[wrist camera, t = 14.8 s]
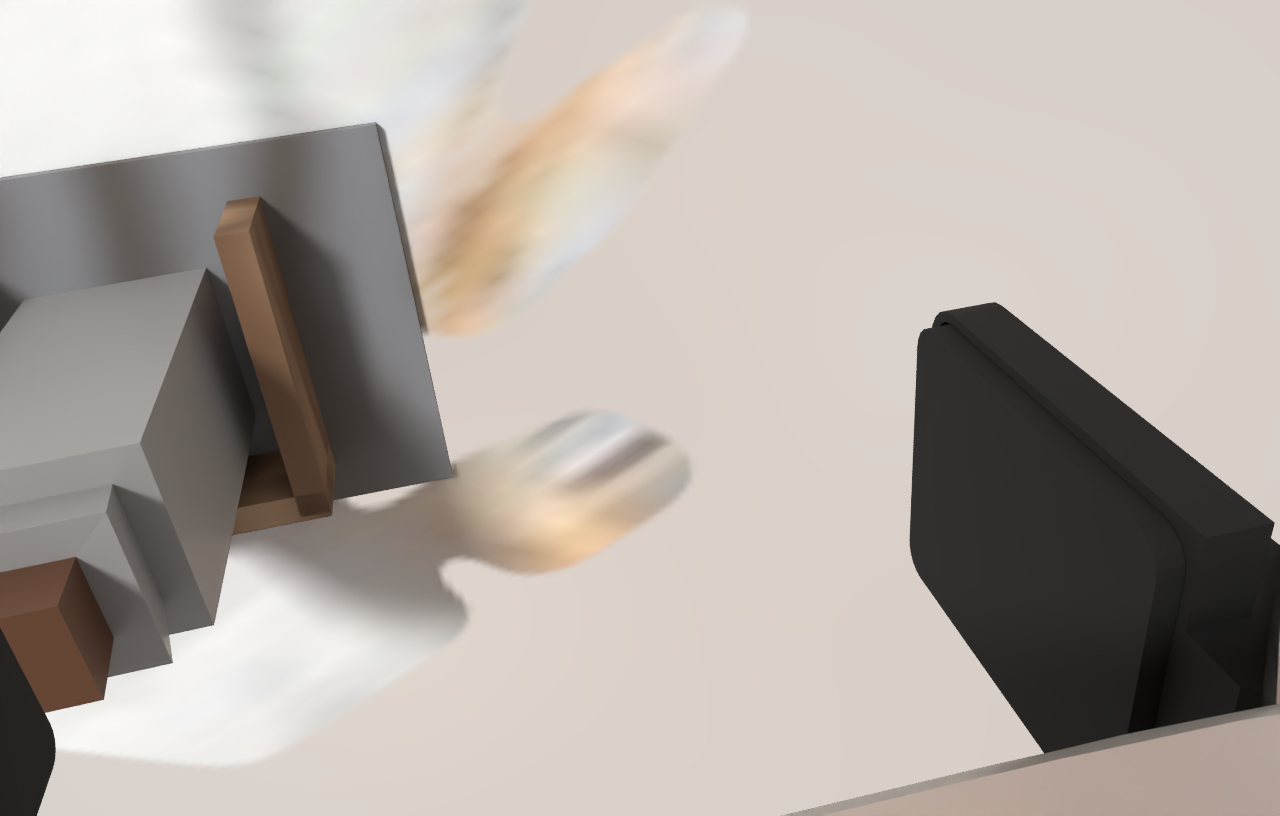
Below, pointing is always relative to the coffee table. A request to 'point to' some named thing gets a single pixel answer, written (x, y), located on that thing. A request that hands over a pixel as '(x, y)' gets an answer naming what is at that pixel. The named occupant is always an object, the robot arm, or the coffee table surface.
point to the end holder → (261, 297)
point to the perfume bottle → (116, 477)
